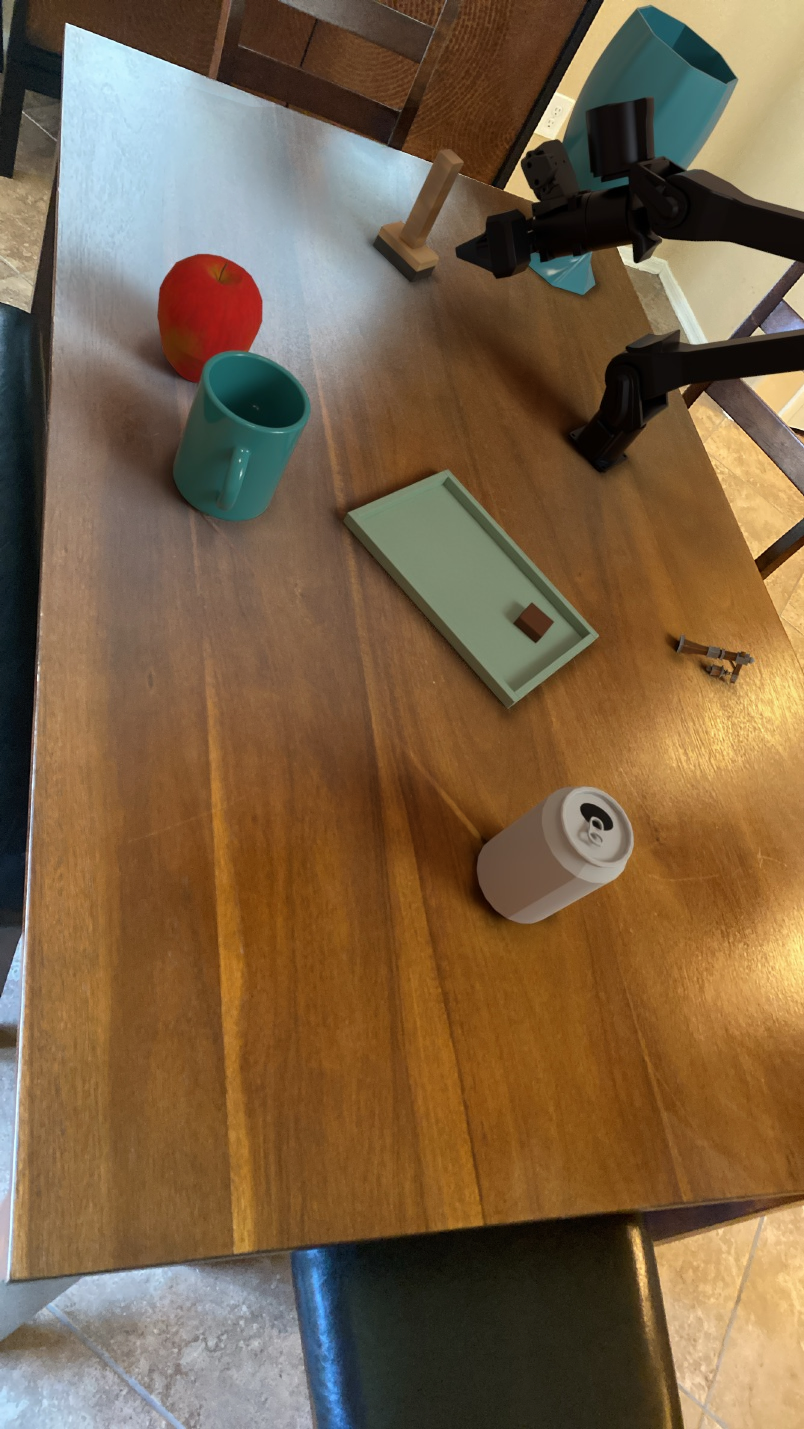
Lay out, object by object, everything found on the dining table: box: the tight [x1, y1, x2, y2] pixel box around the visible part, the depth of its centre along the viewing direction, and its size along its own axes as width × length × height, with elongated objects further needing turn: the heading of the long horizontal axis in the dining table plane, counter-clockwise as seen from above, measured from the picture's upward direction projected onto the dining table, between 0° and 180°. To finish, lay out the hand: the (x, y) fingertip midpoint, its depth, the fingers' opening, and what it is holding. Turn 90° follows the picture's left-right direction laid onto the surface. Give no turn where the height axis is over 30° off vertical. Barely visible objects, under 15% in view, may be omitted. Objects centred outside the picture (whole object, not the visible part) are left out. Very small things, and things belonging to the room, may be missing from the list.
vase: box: [528, 4, 739, 296], centre depth 119 cm, size 17×17×30 cm
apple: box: [156, 253, 264, 384], centre depth 80 cm, size 9×9×12 cm
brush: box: [372, 148, 464, 283], centre depth 106 cm, size 7×4×14 cm, turn 51°
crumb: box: [514, 603, 554, 643], centre depth 86 cm, size 3×3×1 cm
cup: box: [172, 351, 312, 522], centre depth 73 cm, size 9×12×11 cm
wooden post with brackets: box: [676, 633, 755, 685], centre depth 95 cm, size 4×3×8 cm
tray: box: [342, 468, 600, 710], centre depth 85 cm, size 16×24×2 cm, turn 46°
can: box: [476, 785, 635, 925], centre depth 66 cm, size 8×8×12 cm
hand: (476, 245), depth 104 cm, fingers open, 9 cm apart
